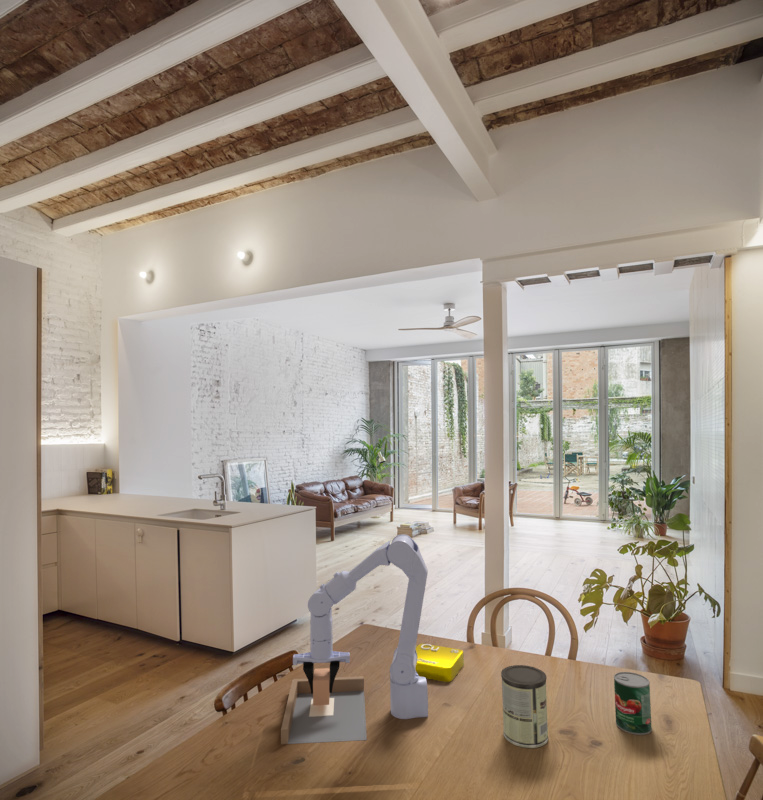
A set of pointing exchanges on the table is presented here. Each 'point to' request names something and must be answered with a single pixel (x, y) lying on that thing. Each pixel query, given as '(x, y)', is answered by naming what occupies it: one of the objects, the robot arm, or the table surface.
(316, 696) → the block
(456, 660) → the element tile
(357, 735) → the arena
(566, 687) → the table surface
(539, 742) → the coffee can
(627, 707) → the canned tomato
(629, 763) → the table surface
